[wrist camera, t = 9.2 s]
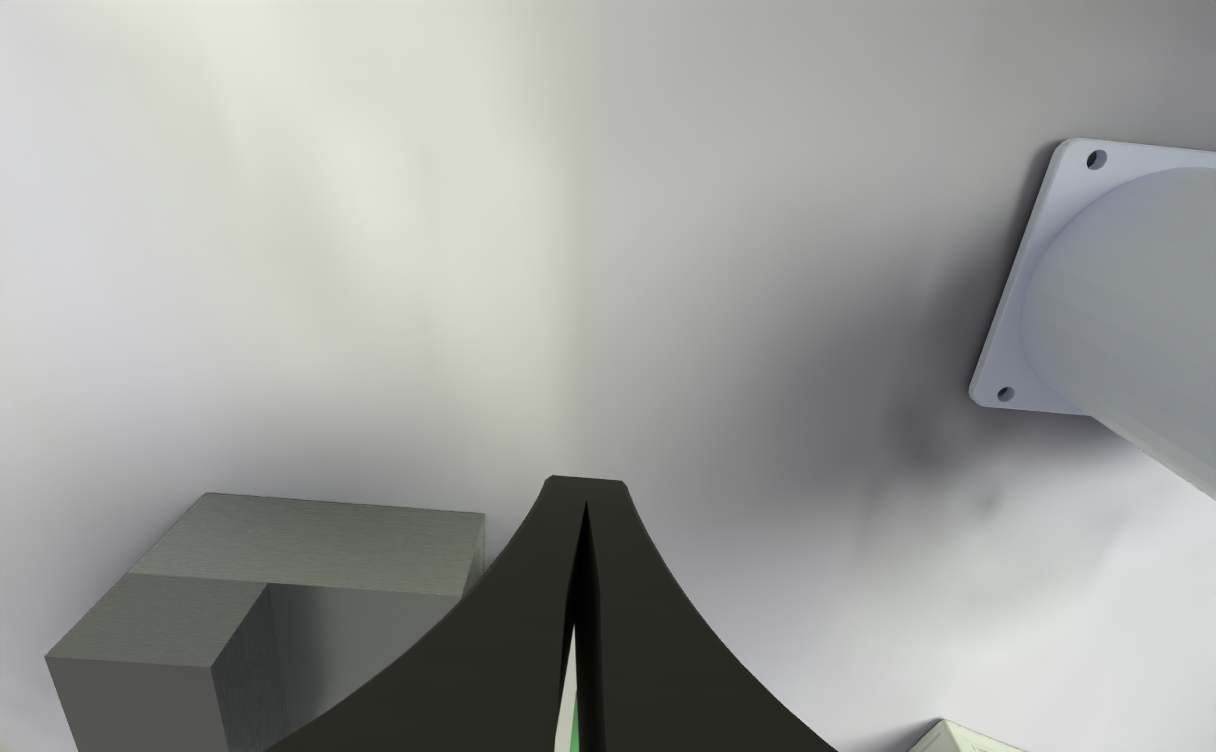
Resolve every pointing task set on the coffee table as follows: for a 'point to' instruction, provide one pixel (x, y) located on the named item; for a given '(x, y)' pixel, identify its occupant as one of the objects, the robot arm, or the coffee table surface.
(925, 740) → the supplement box
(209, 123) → the coffee table surface
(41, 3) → the coffee table surface
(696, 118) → the coffee table surface
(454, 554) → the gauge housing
